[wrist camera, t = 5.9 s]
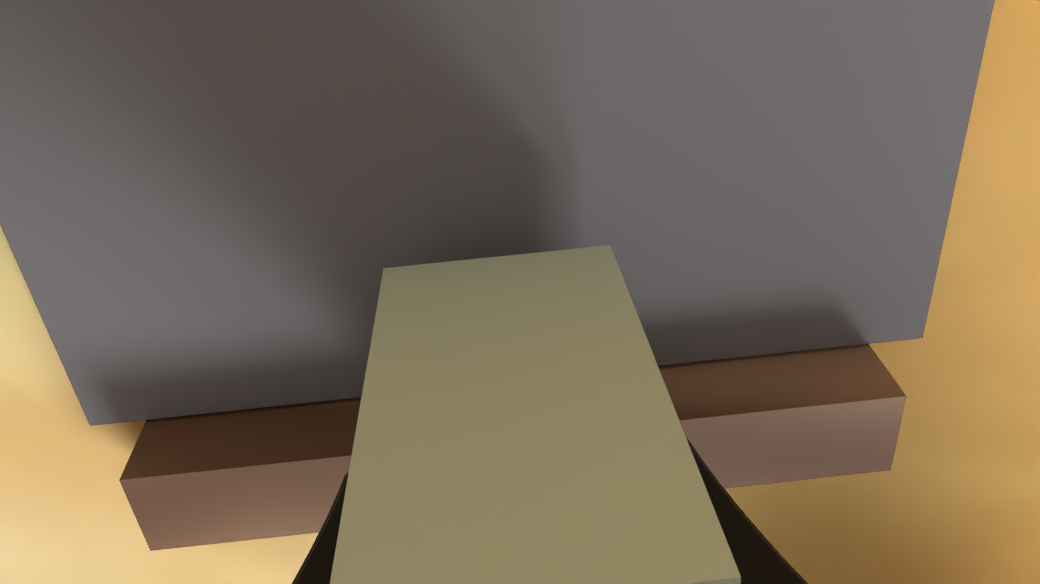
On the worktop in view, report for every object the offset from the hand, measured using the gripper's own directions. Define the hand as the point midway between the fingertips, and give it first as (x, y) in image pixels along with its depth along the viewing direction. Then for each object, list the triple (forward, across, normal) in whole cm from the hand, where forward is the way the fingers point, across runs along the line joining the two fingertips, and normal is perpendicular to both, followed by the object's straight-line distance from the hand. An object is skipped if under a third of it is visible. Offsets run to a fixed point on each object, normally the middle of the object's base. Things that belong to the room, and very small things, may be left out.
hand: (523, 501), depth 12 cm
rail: (+4, 0, +2) cm, 5 cm away
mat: (+4, 0, -4) cm, 6 cm away
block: (+3, 0, 0) cm, 3 cm away
